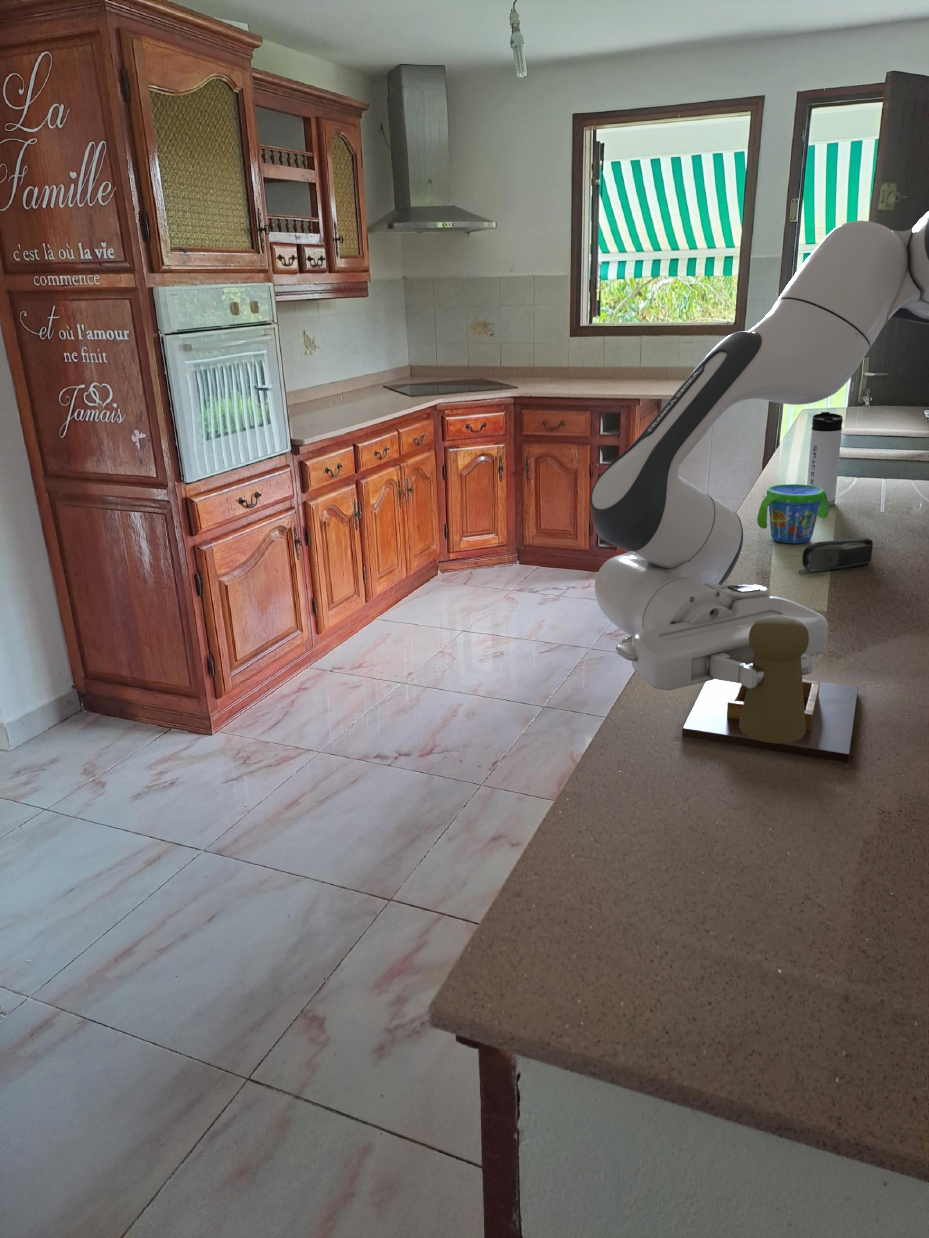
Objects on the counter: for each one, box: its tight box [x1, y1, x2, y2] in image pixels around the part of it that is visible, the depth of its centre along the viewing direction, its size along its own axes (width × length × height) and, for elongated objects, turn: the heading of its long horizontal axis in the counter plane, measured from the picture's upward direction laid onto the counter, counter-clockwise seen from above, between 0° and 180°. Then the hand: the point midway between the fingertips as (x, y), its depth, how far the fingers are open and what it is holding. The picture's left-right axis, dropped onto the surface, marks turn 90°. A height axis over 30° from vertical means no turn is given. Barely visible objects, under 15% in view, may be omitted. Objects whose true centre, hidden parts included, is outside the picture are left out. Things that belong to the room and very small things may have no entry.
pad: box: [681, 678, 859, 763], centre depth 106 cm, size 18×18×3 cm
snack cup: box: [756, 483, 830, 545], centre depth 173 cm, size 16×10×10 cm
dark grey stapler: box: [798, 537, 874, 575], centre depth 156 cm, size 5×3×15 cm
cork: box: [739, 615, 809, 743], centre depth 82 cm, size 6×6×11 cm
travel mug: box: [806, 411, 844, 507], centre depth 197 cm, size 6×7×20 cm
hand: (783, 673), depth 81 cm, fingers closed on cork, 4 cm apart
